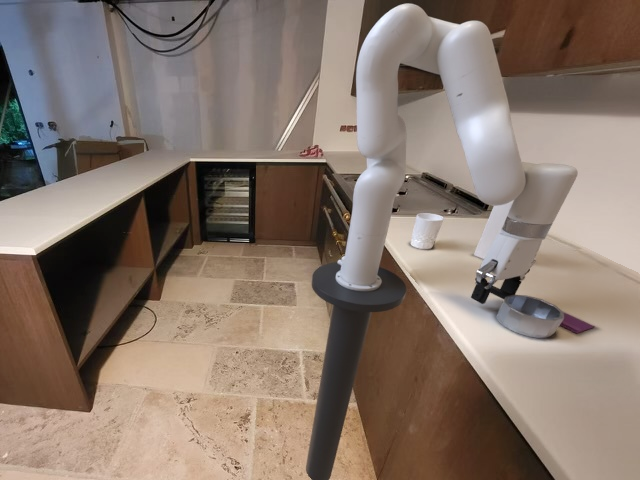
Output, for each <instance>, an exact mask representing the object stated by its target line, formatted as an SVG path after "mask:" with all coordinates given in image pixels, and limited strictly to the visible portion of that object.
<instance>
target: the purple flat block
mask: <svg viewBox="0 0 640 480" xmlns="http://www.w3.org/2000/svg"><path fill="white" fill-rule="evenodd" d="M559 327H562V328H564V329H566V330H568V331H570V332H571V333H574V334H580V333H582V332H585V331H588V330H591V329H594V328H595V325H592V324H590V323H588V322H585V321H583V320H581V319H580V318H577V317H575V316H573V315H570V314H568V313H566V312H564V319H563V321H562V322H561V324H560V325H559Z"/></svg>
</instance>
